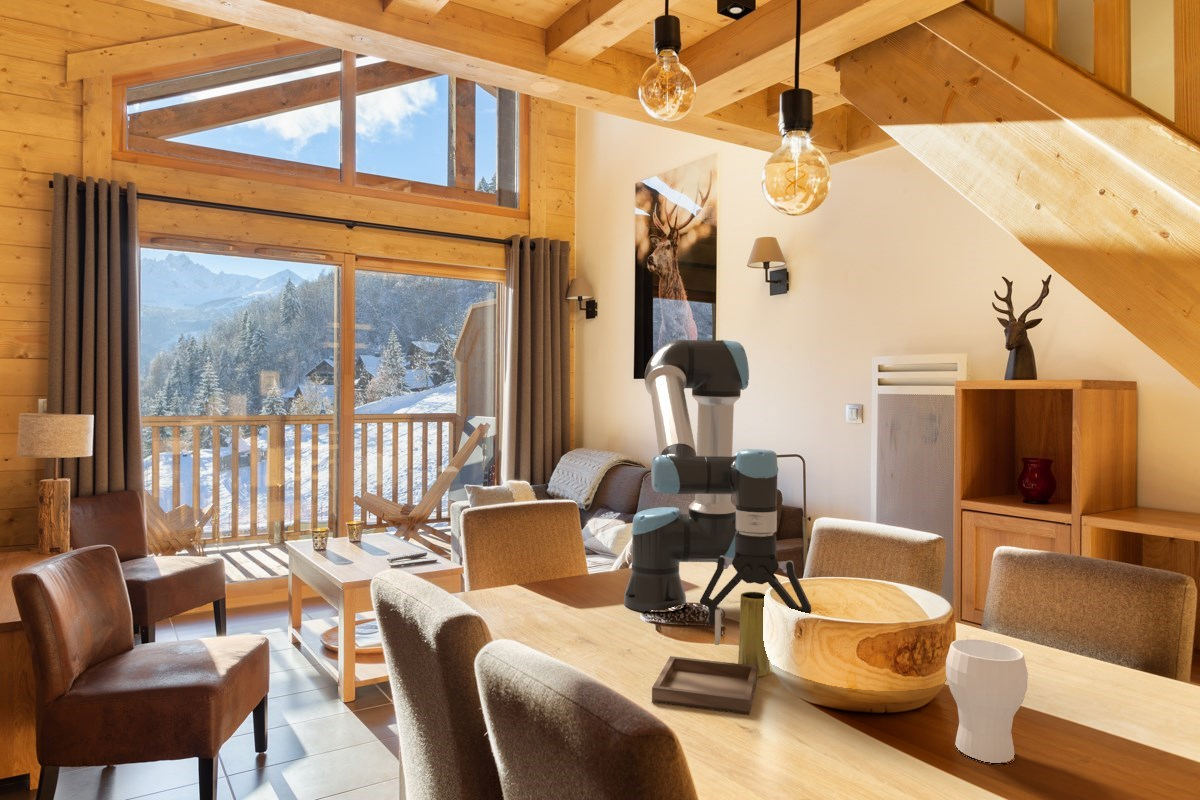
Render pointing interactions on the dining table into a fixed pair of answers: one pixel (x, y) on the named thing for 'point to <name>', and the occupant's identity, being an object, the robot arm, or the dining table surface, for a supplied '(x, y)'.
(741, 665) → the walnut tray
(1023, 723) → the dining table surface
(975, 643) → the cup
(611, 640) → the dining table surface
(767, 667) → the vase
